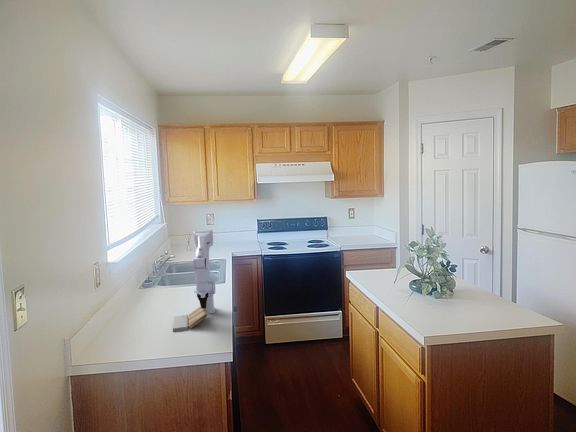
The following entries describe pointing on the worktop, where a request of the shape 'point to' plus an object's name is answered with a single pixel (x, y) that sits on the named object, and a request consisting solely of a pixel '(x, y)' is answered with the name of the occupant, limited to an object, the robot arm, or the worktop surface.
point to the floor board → (180, 323)
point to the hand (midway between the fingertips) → (203, 308)
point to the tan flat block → (197, 316)
